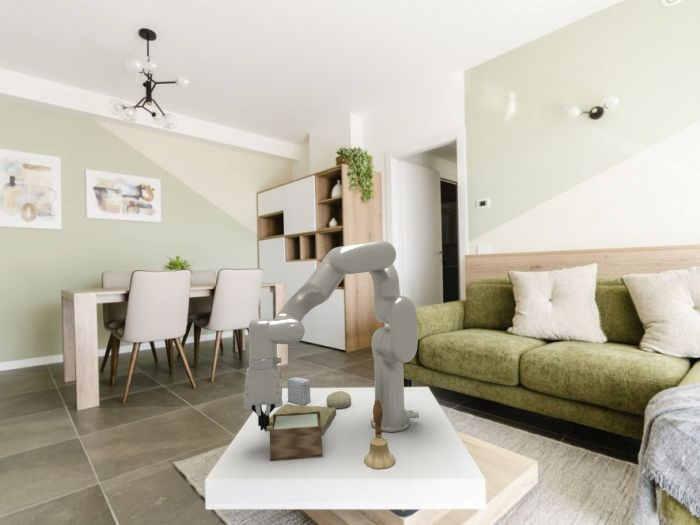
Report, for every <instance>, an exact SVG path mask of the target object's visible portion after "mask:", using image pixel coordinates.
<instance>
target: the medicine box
mask: <svg viewBox="0 0 700 525" xmlns="http://www.w3.org/2000/svg"><path fill="white" fill-rule="evenodd" d="M310 380H311V379H306V378H302V377H296V376H294V377H292V378H289V379H287V401H288V402H289V403H293V404H296V405H305V406H306V404H308V403H310V402H311V381H310Z"/></svg>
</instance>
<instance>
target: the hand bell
mask: <svg viewBox="0 0 700 525" xmlns="http://www.w3.org/2000/svg"><path fill="white" fill-rule="evenodd" d="M382 416H383V411H382V407H381V404H380V400H375V399H374V404H373V408H372V418H374V421H375V428H374V429H375V432H374V433H375V437H373V438H372V439H371V440H370V444H369V450H368V452H367V454H366V455H365V457H364V459H363V462H364V464H365V465H366V466H367V467H368V468H371V469H375V470H384V469H389V468H391V467H393V466H394V465H395V464H396V459H395V456H394V455H393V454H391V452H390V450H389V444H388V440H387V438H385V437H383V435H382V432H383V431H381V421H382Z"/></svg>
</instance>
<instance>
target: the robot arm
mask: <svg viewBox="0 0 700 525" xmlns="http://www.w3.org/2000/svg"><path fill="white" fill-rule="evenodd" d="M396 259H397V251H396V248H395V247H394V245H392V244H391V243H390V242H388V241H385V240H380V241H373V242H367V243H359V244H351V245H349V244H348V245H343V246H337V247H333V248H332V249H331V250H329V251H328V253H327V254H325V256H324V258H323V259H322V260H321V262H320V263H319V264H318V266H317V267H316V269H314V271H313V272H312V274H311V275H310V276H309V278H308V279H307V280H306V282H304V284H303V285H302V286H300V288H299V289H297V290H296V292H295V293H294V294H293V295H292V296H290V298H289V299H288V300H287V301H286V303H285V304H283V306H282V308H281V309H280V311H278V313H277V314H276V316H275V317H274V319H272V318H257V319H253V320H250V322H249V324H248V356H249V357H248V361H249V363H248V364H249V367H247V369H246V373H245V378H244V379H245V380H244V404H243V408H244V409H247V410H252V411H253V412H254V413H255V414H256V416H257V423H258V424H257V426H258V427H260V428H259V429H260V431H263V430H264V431H265V430H266V429H267V426H268V425H269V424H270V414H271V413H272V412H273V411H274V410H275V409H278V408H281V407H282V406H283V404H284V402H283V399H282V398H283V385H282V383H283V382H282V376H281V375H282V374H281V369H280V365H278V364H281V363H282V357H278V356H277V345H294V344H297V343H299V342H300V341H302V339H303V338H304V337H305V334H306V333H305V332H306V329H305V326H304V324H303V322H302V320H303V319H304V317H305V316H307V314H308V313H310V311H311V310H313V309H314V308H315V307H317V306H320V305H322V304H323V303H325V302H327V300H329V299H330V297H332V295H333V293H334V292H335V290H336V289H337V287H338V286H339V285H340V284H341V282H342V281H343V280H344V278H346V275H353V274H361V273H367V272H368V273H369V275H370V276H371V278H372V279H371V280H372V284H373V303H374V304H373V308H374V316H375V318H376V319H377V320H378V321H380V322H381V323H384V324H387V325H389V326H382V327H378V328H377V329H376V330H375V331H374V333H373V334H372V336H371V343H370V344H371V351H372V357H373V365H374V401H375V400H380V404H381V407H382V411H383V416H382V421H381V432H387V433H396V432H401V431H404V430H407V429H408V428H409V427H410V420H411V419H419V418H420V413H419V411H413V410H412V409H409V410H406V409H405V382H404V372H405V371H404V364H405V363H409V362H410V361H412V360H413V359H414V358H415V356H416V354H417V350H418V345H419V343H418V342H419V341H418V336H419V335H418V315H417V314H418V313H417V308H416V305H415V304H414V302H413V301H412V300H411V299H410V298H409V297H408V296H407V297H406V296H404V295H401V293H400V292H401V289H400V279H399V273H398V272H397V269H396V268H395V266H394V263H395V261H396ZM262 405H263V406H266V407H265V411H263V407H262ZM370 425H371V426H372V427H373V428H374V429H375V421H374V418H373V417H372V418H371V419H370Z"/></svg>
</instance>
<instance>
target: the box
mask: <svg viewBox="0 0 700 525" xmlns="http://www.w3.org/2000/svg"><path fill="white" fill-rule="evenodd" d="M306 414H317V421H318V426H311V427H297V428H283V429H274V426H275V421H276V416H291V415H306ZM272 415H273V429H270V432H269V462H273V461H276V462H277V461H287V460H299V459H310V458H312V459H313V458H322V457H323V436H322V426H321V421H320V411H316V412H300V413H285V414H274V413H273V414H272Z"/></svg>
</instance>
